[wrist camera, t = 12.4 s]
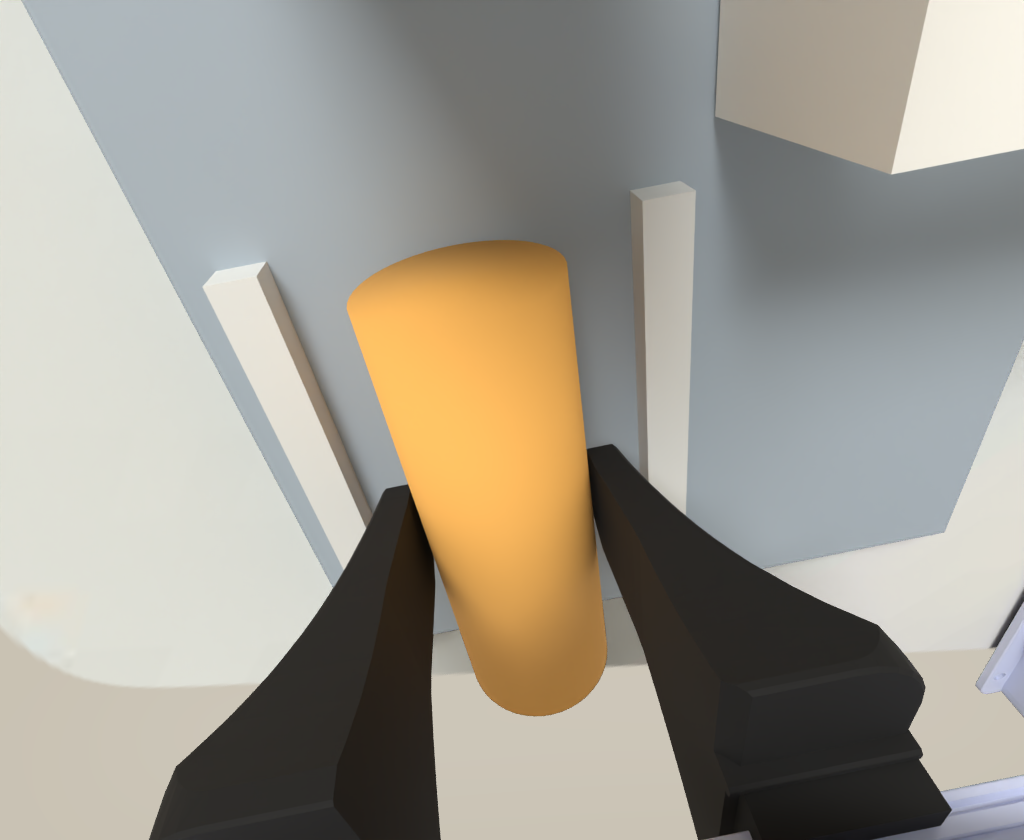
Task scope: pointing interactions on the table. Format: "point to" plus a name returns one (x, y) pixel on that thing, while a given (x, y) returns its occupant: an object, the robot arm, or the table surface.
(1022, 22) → the white bracket
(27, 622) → the table surface
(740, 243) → the board
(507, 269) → the orange cylinder
